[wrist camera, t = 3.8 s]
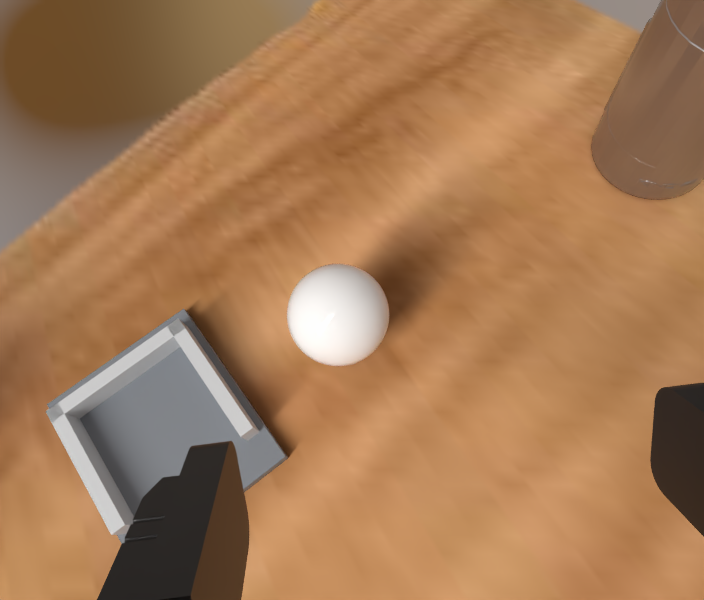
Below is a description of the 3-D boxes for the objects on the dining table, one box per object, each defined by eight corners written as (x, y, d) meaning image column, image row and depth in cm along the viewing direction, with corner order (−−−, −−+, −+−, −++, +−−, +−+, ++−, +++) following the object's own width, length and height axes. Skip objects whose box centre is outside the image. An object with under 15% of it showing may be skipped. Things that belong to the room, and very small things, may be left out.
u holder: (54, 406, 42) (30, 398, 40) (188, 313, 44) (174, 299, 42) (143, 570, 38) (122, 575, 35) (288, 457, 40) (279, 453, 37)
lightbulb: (310, 310, 44) (282, 245, 33) (391, 310, 43) (389, 246, 33) (303, 390, 41) (272, 348, 31) (390, 393, 41) (387, 350, 30)
